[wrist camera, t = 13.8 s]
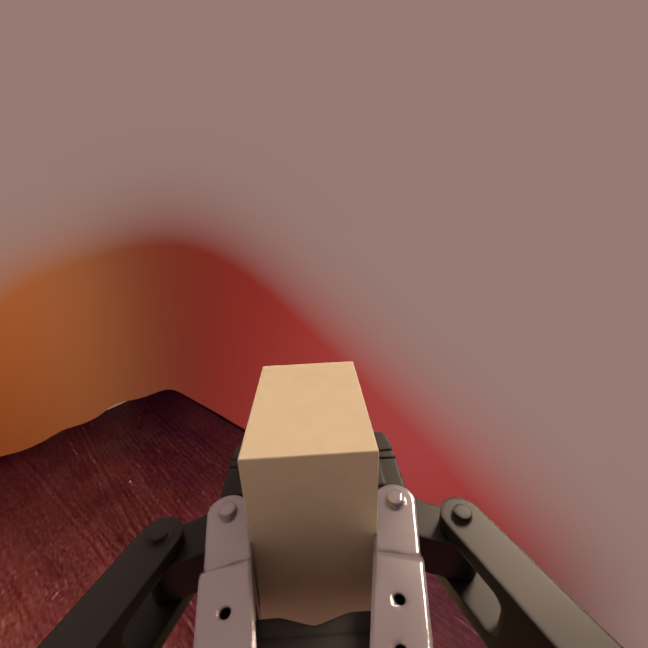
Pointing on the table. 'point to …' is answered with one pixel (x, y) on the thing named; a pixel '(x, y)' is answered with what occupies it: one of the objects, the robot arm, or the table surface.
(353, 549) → the tall beige wooden block
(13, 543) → the table surface
